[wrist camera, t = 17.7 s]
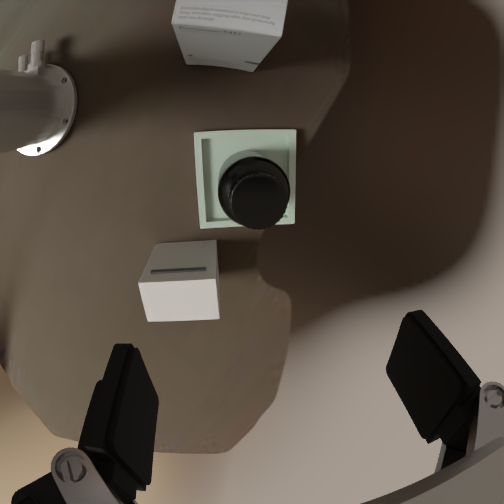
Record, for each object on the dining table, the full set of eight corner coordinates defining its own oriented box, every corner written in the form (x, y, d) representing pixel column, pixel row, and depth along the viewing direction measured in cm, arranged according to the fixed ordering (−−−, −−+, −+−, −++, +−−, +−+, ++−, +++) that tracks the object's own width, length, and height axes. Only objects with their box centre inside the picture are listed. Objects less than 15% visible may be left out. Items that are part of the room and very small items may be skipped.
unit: (155, 242, 37) (137, 281, 28) (216, 238, 38) (215, 277, 29) (162, 278, 39) (148, 323, 30) (219, 275, 40) (219, 321, 31)
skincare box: (185, 65, 28) (162, 28, 15) (194, 21, 26) (179, -36, 12) (257, 73, 29) (282, 40, 16) (265, 29, 27) (293, -23, 14)
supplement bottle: (282, 193, 36) (309, 227, 25) (230, 212, 36) (234, 254, 25) (264, 141, 33) (286, 150, 22) (209, 160, 33) (203, 180, 22)
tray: (195, 132, 32) (193, 132, 30) (293, 129, 33) (296, 129, 31) (201, 224, 37) (200, 228, 35) (291, 219, 38) (294, 223, 36)
